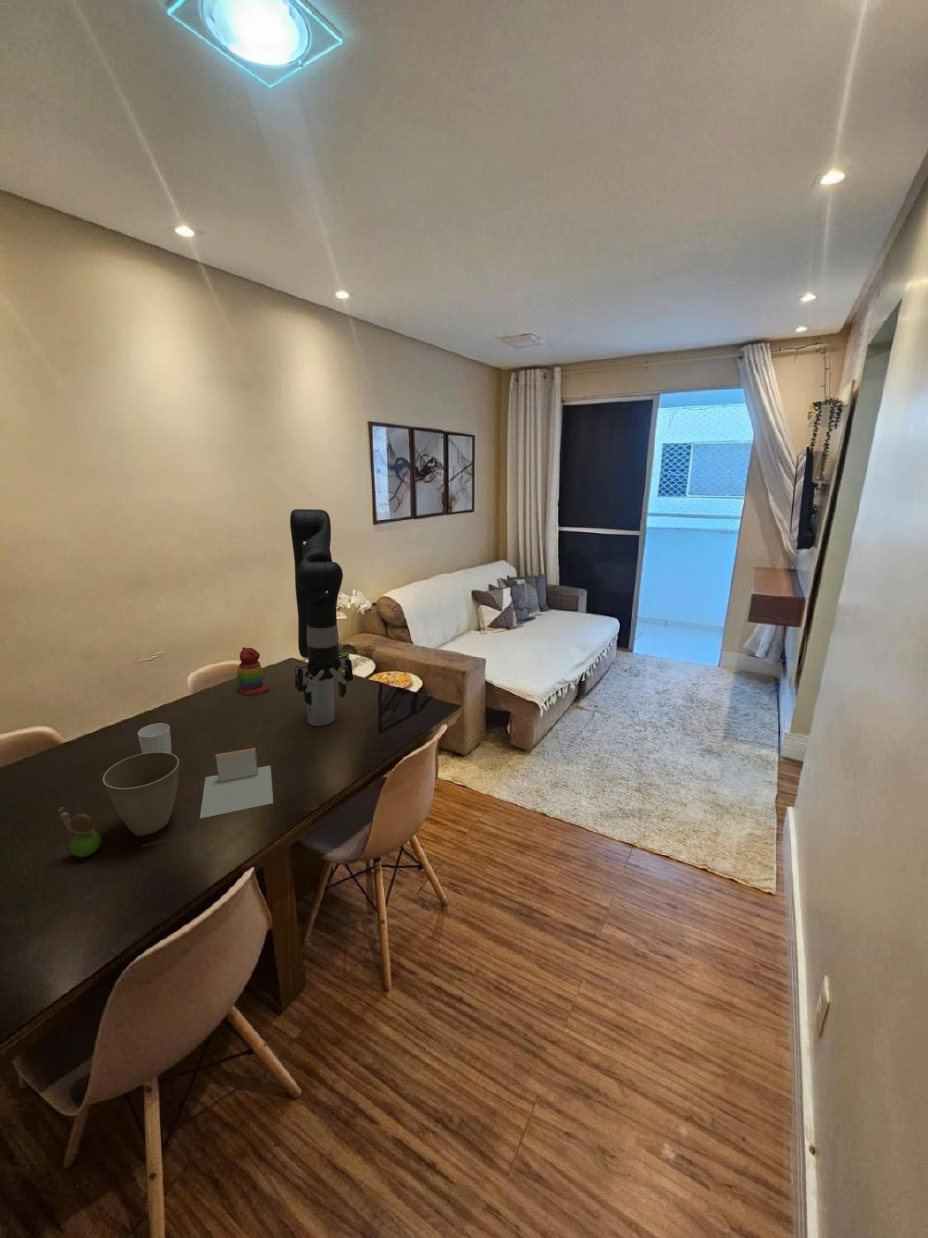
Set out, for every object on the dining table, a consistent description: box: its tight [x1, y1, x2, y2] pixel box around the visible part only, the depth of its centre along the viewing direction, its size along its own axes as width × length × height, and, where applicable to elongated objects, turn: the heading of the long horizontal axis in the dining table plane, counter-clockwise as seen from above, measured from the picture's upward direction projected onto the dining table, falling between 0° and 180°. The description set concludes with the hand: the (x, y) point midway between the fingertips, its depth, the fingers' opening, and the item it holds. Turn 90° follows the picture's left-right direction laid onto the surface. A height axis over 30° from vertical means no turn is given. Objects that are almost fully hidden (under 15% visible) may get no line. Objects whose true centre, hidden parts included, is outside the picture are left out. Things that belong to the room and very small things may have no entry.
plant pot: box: [102, 752, 180, 837], centre depth 114 cm, size 15×15×16 cm
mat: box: [199, 765, 274, 819], centre depth 130 cm, size 18×17×1 cm
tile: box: [215, 747, 258, 782], centre depth 134 cm, size 2×10×8 cm, turn 113°
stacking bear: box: [236, 646, 270, 696], centre depth 187 cm, size 11×10×18 cm
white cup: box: [137, 722, 172, 754], centre depth 141 cm, size 8×8×10 cm
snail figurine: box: [58, 806, 102, 858], centre depth 106 cm, size 5×6×12 cm
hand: (325, 700), depth 124 cm, fingers open, 8 cm apart
